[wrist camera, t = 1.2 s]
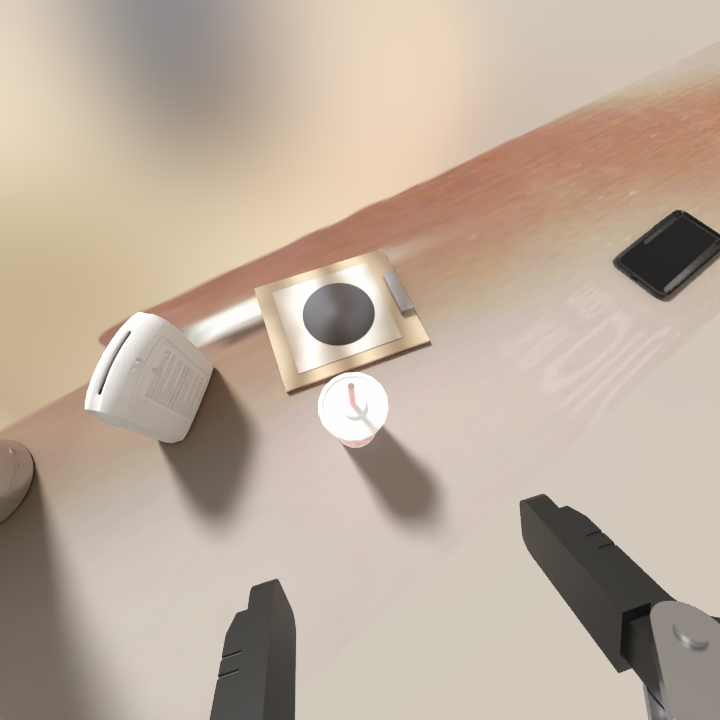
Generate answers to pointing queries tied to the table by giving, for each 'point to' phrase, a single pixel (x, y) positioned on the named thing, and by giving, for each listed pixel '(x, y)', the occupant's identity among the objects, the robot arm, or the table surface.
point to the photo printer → (149, 380)
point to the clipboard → (338, 319)
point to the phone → (668, 253)
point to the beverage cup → (353, 408)
